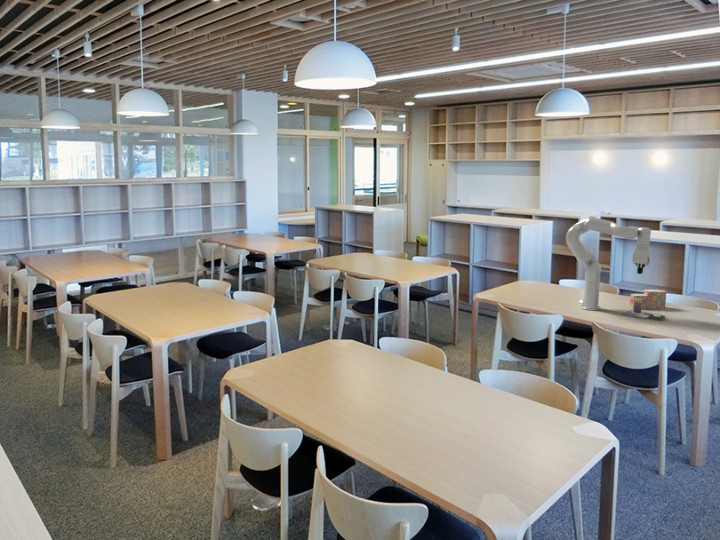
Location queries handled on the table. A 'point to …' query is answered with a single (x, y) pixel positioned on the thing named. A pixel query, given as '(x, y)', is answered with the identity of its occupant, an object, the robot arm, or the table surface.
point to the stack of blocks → (650, 299)
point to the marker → (637, 305)
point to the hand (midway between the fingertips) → (639, 273)
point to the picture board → (637, 314)
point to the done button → (657, 314)
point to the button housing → (656, 317)
